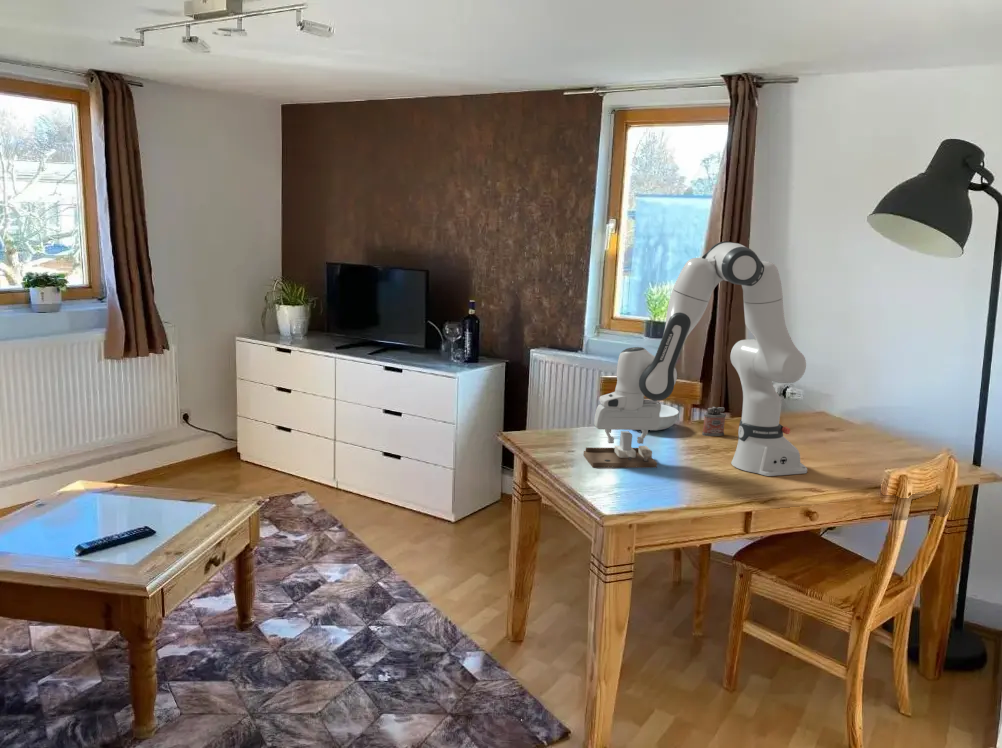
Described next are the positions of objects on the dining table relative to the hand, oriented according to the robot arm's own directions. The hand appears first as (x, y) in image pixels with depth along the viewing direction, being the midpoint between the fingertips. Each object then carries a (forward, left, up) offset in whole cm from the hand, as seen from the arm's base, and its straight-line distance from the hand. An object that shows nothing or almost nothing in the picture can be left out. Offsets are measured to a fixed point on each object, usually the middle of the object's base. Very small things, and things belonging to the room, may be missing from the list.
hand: (625, 443), depth 248 cm
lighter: (-41, -30, -6) cm, 51 cm away
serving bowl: (-20, -39, -6) cm, 44 cm away
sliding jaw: (0, +1, -4) cm, 4 cm away
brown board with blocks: (+2, +1, -6) cm, 6 cm away
